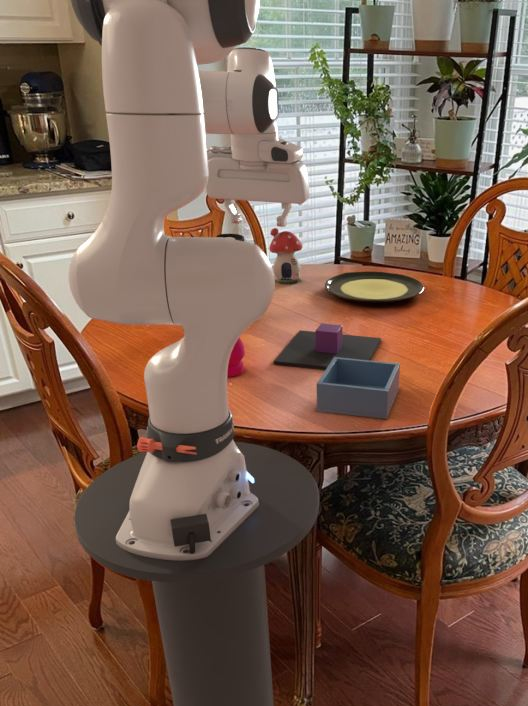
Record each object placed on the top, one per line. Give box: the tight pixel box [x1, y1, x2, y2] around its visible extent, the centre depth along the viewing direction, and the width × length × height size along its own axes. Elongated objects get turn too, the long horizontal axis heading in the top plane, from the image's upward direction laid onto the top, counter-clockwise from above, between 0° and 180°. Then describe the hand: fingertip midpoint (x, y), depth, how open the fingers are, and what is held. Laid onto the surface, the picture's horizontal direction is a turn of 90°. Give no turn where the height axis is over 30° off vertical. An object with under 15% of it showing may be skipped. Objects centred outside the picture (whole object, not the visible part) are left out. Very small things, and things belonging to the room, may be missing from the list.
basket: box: [316, 357, 401, 420], centre depth 139 cm, size 14×14×6 cm
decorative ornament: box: [268, 227, 303, 285], centre depth 205 cm, size 9×7×15 cm
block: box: [314, 323, 343, 354], centre depth 160 cm, size 5×5×5 cm
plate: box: [324, 270, 425, 304], centre depth 199 cm, size 28×28×2 cm
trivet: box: [273, 330, 382, 371], centre depth 162 cm, size 20×20×1 cm
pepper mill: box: [227, 336, 246, 378], centre depth 147 cm, size 7×7×20 cm
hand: (259, 224), depth 141 cm, fingers open, 8 cm apart
